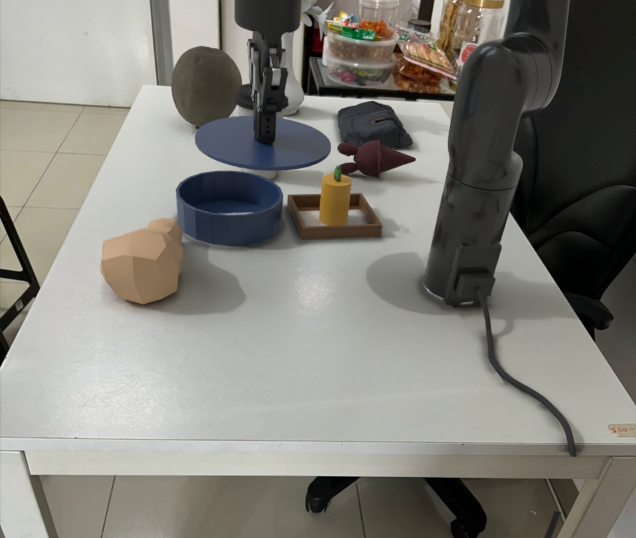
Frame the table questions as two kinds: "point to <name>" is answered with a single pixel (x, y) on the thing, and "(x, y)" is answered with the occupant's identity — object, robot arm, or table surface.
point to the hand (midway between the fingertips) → (264, 136)
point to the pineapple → (335, 198)
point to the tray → (336, 231)
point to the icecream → (372, 158)
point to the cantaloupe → (205, 85)
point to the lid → (262, 144)
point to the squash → (144, 261)
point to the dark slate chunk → (372, 125)
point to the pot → (229, 207)
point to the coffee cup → (247, 109)
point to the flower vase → (292, 86)
